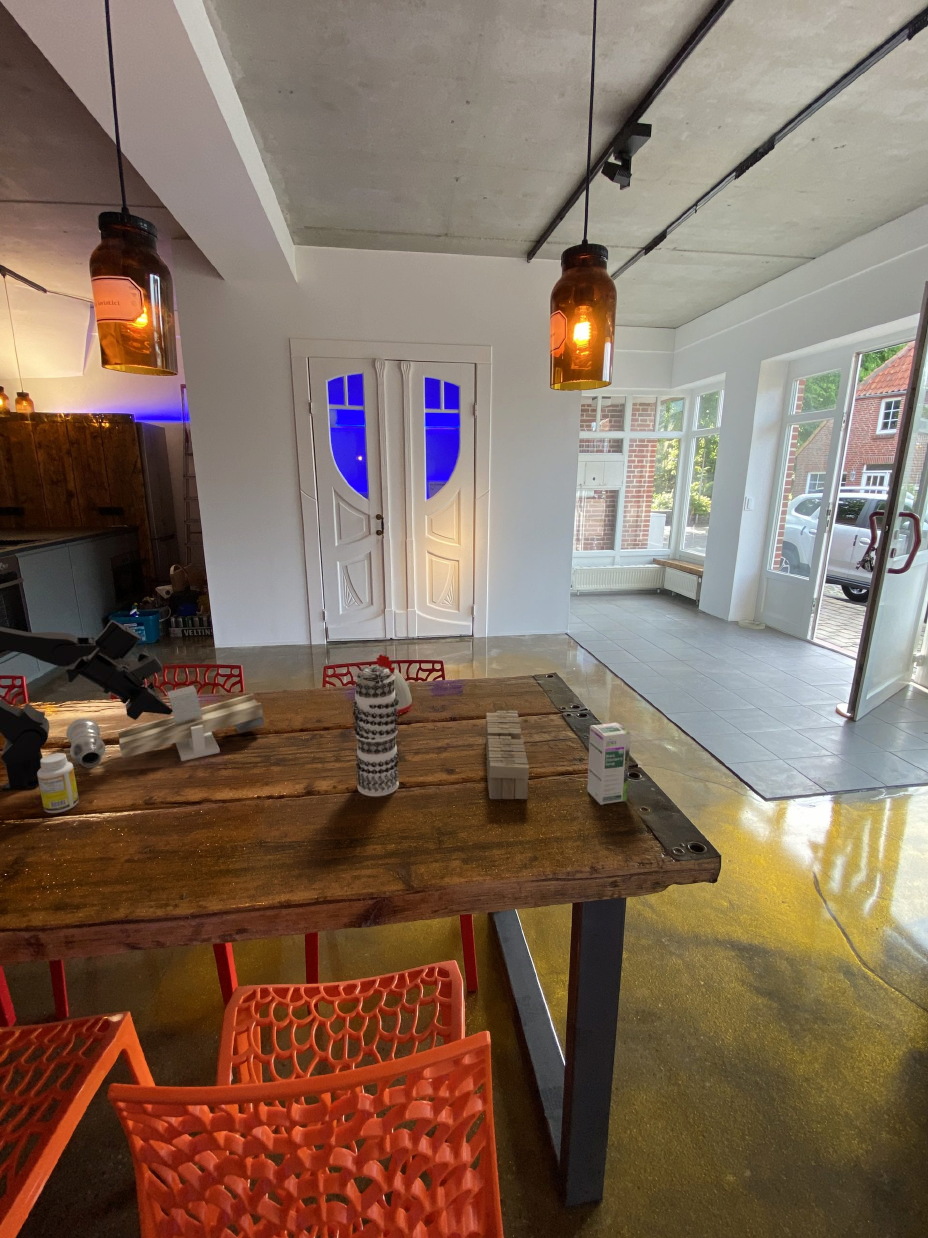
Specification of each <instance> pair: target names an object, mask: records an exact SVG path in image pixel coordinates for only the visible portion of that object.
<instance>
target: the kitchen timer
mask: <svg viewBox="0 0 928 1238" xmlns="http://www.w3.org/2000/svg"><path fill="white" fill-rule="evenodd" d="M375 659H376V663H377V666H381V667H385V668H387V669H389V671H390V672H391V673H392V674H394V675H395V676H396V677H395V678H394V690H395V693H397V694H398V696H397V698H396V697H395V698H396V699H397V700H398V701H399V703H398V705H397V706H395V708H396V709H398V714H400V713H404V712H406V711H408V710H409V709H410V708H411V707H412V708H413V701H412V700H413V699H412V695H411V694H412V693H411V692H410V687H411V686H410V682H409V681H408V682H406V679H405V678H404V677H403V676H402V674H401V673H400V671H398V670H397V669H396V667H395V666H394V667H392V665H393V662H392V661H390V657H389V656H387V655H386V654H385V655H383V654H379V655H378V657H376V658H375ZM412 708H411V709H412ZM408 712H409V711H408ZM406 713H407V712H406ZM404 714H405V713H404Z"/></svg>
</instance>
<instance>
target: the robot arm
mask: <svg viewBox="0 0 928 1238" xmlns="http://www.w3.org/2000/svg"><path fill="white" fill-rule="evenodd" d="M141 640H142V637H141V635H139V634H138V633H137V632H136V631H135V630H133V629H131V628H130V627H128V626H127V625H123V624H121V623H120V622H117V621H115V620H114V619H111V620H110V621H109V622H108V624H107V625H106V627H105V628H104V629H103V630H102V632H100V634H98V636H92V637H91V636H87V637H86V636H76V635H75V634H72V633H69V632H67V633H66V632H55V631H54V632H53V631H52V632H51V631H48V632H46V631H45V632H44V631H43V632H33V631H32V632H31V631H30V632H28V631H24V630H20V629H19V630H18V629H13V628H8V627H3V626H0V650H4V651H8V652H9V651H10V652H15V653H21V654H24V655H28V656H30V657H32V658H34V659H36V660H39V661H42V662H43V663H48V664H50V665H54V666H56V667H66V668H65V672H66V674H67V679H68V680H67V681H68V683H73V682H74V680H75V679H76V678H78V676H80V677H81V678H83V679H85V680H86V681H89V682H90V683H91V684H93V685H95V686H96V687H98V688H100V689H102V693H105V694H106V695H108V694H111V695H113V696H115V697H116V698H118V699H120V703H121V704H123V705H125V711H126V716H127V717H128V718H130V719H132V720H134V721H136V720H138V719H139V718H140V716H141V715H142V714H143V713H147V714H158V715H171V714H173V713H172V712H173V711H172V709H171V706H169V705H168V704H167V703H166V702H165V701H164V700H163V699H162V698H161V697H160V696H159V695H158V694H157V691H156V688H155V684H154V682H153V681H151V682H150V683H149V684H148V685H144V684H146V682H145V681H144V680H146V679H150V677H151V676H153V675H155V674H158V673H160V672H162V671H163V670H164V667H163V665H162V663H161V662H160V660H159V659H158V658H157V656H156V655H155V654H154V653H150V654H149V653H146V652H144V651H142V652H141V653H138V654H137V655H136V659H137V662H134V663H133V664H132V665H131V666H127V665H125V664H120V665H119V664H117V663H116V662H114V661H116V660H119V659H122V660H123V659H124V658H126V656H127V655H128V654H129V653H130V652H131V651H132V650H133V648H134V647H136V646H137V644H138V643H139V642H140V641H141ZM101 653H102V654H101ZM73 664H74V665H73ZM71 665H72V666H71ZM45 715H46V712H42V711H40V710H38V709H36V708H34V707H33V706H32V704H30V703H25V704H24V706H23V707H17V706H14V705H11V704H8V703H7V702H6V701H3V700H1V699H0V735H1V736H2V738H4V739H5V743H4V745H3V750H2V752H1V756H0V759H1V760H2V761H3V763H4V764H5V770H6V776H7V780H8V781H7V782H6V783H5V784H3V785H2V786H1V790H2V791H5V790H6V791H7V790H8V791H9V790H20V789H21V790H23V789H24V790H25V789H36V788H37V787H40V786H39V781H38V776H37V772H38V770H39V769H40V768H41V762H40V760H41V759H42V758H43V753H42V750H41V749H42V747H43V746H45V744H46V743H47V741H48V738H49V732H50V721H49V720H48V718H47V717H46V716H45Z"/></svg>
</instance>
